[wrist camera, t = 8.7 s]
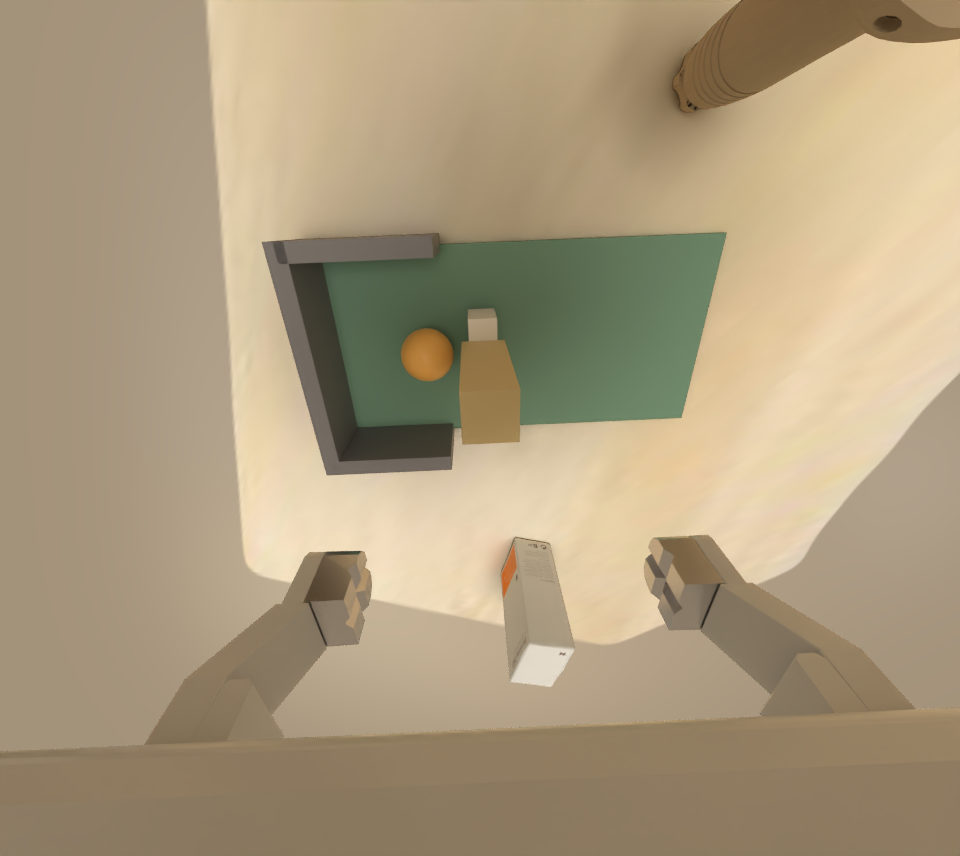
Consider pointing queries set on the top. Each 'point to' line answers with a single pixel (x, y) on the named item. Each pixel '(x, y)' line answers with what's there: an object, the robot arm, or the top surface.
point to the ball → (427, 354)
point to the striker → (487, 384)
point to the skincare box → (534, 615)
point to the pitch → (533, 325)
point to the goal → (323, 362)
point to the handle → (797, 41)
